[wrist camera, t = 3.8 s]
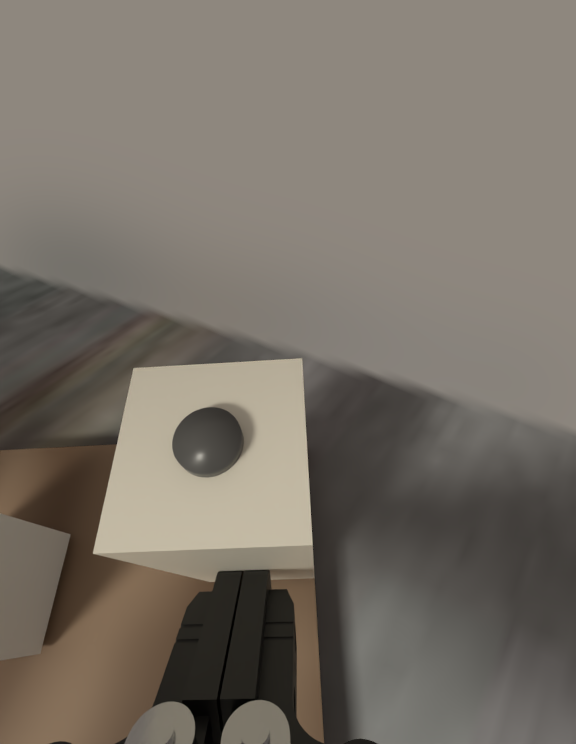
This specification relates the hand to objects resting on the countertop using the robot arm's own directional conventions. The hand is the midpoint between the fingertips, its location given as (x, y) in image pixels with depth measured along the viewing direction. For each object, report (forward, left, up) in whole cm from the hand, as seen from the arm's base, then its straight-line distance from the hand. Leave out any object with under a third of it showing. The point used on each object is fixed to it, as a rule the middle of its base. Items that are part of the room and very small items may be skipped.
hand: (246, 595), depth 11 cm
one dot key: (0, +3, -4) cm, 4 cm away
